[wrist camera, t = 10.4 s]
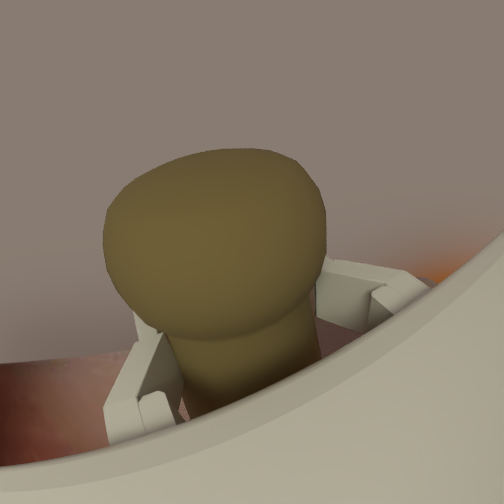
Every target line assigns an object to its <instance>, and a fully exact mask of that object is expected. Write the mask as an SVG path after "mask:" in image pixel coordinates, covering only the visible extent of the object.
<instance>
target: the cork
mask: <svg viewBox="0 0 504 504" xmlns="http://www.w3.org/2000/svg"><path fill="white" fill-rule="evenodd" d="M103 249H104V256H105V262H106V268H107V272H108V274H109V275H110V277H111V280H112V282H113V284H114V286H115V288H116V290H117V291H118V293H119V294H120V296H121V297H122V298H123V299H124V300H125V302H126V303H127V304H128V306H129V307H130V308H131V309H132V310H133V311H134V312H135V313H136V314H137V315H138V316H139V318H140V319H141V320H142V321H143V322H144V323H145V324H146V325H148V326H150V327H152V328H154V329H157V330H159V331H161V332H163V333H165V334H167V335H168V338H169V342H170V345H171V348H172V350H173V353H174V356H175V358H176V361H177V364H178V366H179V369H180V371H181V374H182V377H183V379H184V382H185V383H184V387H183V392H182V398H183V401H184V404H185V406H186V409H187V411H188V414H189V417H190V419H194V418H197V417H199V416H202V415H204V414H207V413H209V412H212V411H214V410H217V409H219V408H222V407H224V406H226V405H229V404H231V403H233V402H236V401H238V400H240V399H242V398H245V397H247V396H249V395H251V394H254V393H256V392H258V391H260V390H262V389H264V388H266V387H268V386H271V385H273V384H275V383H277V382H279V381H281V380H283V379H285V378H287V377H289V376H291V375H293V374H295V373H297V372H299V371H301V370H302V369H304V368H306V367H308V366H310V365H312V364H314V363H316V362H317V361H319V360H321V359H322V358H321V353H320V348H319V343H318V338H317V332H316V327H315V323H314V318H313V313H312V308H311V303H310V298H309V293H310V292H311V290H312V288H313V286H314V285H315V283H316V281H317V279H318V277H319V276H320V273H321V270H322V266H323V263H324V259H325V256H326V210H325V207H324V204H323V200H322V197H321V195H320V191H319V189H318V187H317V186H316V184H315V183H314V182H313V180H312V179H311V178H310V176H309V175H308V174H307V172H306V171H305V170H304V168H302V167H301V165H300V164H299V163H298V162H297V161H295V160H293V159H291V158H289V157H286V156H284V155H281V154H279V153H276V152H273V151H270V150H262V149H219V150H211V151H205V152H200V153H196V154H192V155H188V156H184V157H181V158H178V159H175V160H173V161H170V162H167V163H165V164H163V165H161V166H159V167H156V168H155V169H152V170H150V171H149V172H147V173H145V174H143V175H141V176H139V177H138V178H136V179H134V180H133V181H132V182H131V183H129V184H128V185H127V186H125V187H124V188H123V190H122V191H121V192H120V193H119V194H118V196H117V197H116V198H115V199H114V201H113V202H112V204H111V205H110V206H109V208H108V209H107V214H106V219H105V225H104V230H103Z"/></svg>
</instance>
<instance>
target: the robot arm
mask: <svg viewBox="0 0 504 504" xmlns="http://www.w3.org/2000/svg"><path fill="white" fill-rule="evenodd" d="M309 298H310V303H311V308H312V313H313V317H315V316H317V317H318V318H320V319H323V320H325V321H328V322H331V323H334V324H336V325H339V326H342V327H344V328H347V329H350V330H353V331H355V332H358V333H361V334H364V335H362V336H361V337H359V338H357V339H356V340H354V341H352V342H351V343H349V344H347V345H346V346H344V347H342V348H341V349H339V350H337V351H335V352H334V353H332V354H330V355H328V356H326V357H325V358H323V359H321V360H319V361H317V362H316V363H314V364H312V365H310V366H308V367H306V368H304V369H302V370H301V371H299V372H297V373H295V374H293V375H291V376H289V377H287V378H285V379H283V380H281V381H279V382H277V383H275V384H273V385H271V386H268V387H266V388H264V389H262V390H260V391H258V392H256V393H254V394H251V395H249V396H247V397H245V398H242V399H240V400H238V401H236V402H233V403H231V404H229V405H226V406H224V407H222V408H219V409H217V410H214V411H212V412H209V413H207V414H204V415H202V416H199V417H197V418H194V419H191V420H189V421H186V422H185V420H184V419H183V418H182V416H181V415H180V414H179V412H178V409H179V405H180V400H181V396H182V392H183V387H184V383H185V382H184V379H183V377H182V374H181V371H180V369H179V366H178V364H177V361H176V358H175V356H174V353H173V350H172V348H171V345H170V342H169V338H168V335H167V334H165V333H163V332H161V331H159V330H157V329H154V328H152V327H150V326H148V325H146V324H145V323H144V322H143V321H142V320H141V319H140V318H139V316H138V315H137V314H136V313H135V312H134V311H133V313H134V319H135V324H136V328H137V333H138V338H139V341H138V342H136V343H134V345H133V347H132V349H131V351H130V353H129V355H128V357H127V359H126V361H125V363H124V365H123V367H122V369H121V371H120V373H119V375H118V377H117V379H116V381H115V384H114V386H113V388H112V390H111V392H110V394H109V396H108V398H107V400H106V402H105V405H104V407H103V411H104V417H105V424H106V430H107V435H108V441H109V446H108V447H104V448H100V449H97V450H93V451H88V452H84V453H80V454H75V455H71V456H66V457H61V458H56V459H51V460H45V461H39V462H33V463H27V464H20V465H12V466H3V467H0V504H504V230H503V231H502V232H501V233H500V234H499V235H498V236H496V237H495V238H494V239H493V240H492V241H491V242H490V243H489V244H487V245H486V246H485V247H484V248H483V249H482V250H480V251H479V252H478V253H477V254H476V255H474V256H473V257H472V258H471V259H470V260H468V261H467V262H466V263H465V264H464V265H462V266H461V267H460V268H458V269H457V270H456V271H455V272H454V273H452V274H451V275H450V276H449V277H447V278H446V279H445V280H443V281H442V282H440V283H439V284H438V285H436V286H435V287H434V288H432V289H431V288H430V287H428V286H427V285H426V284H424V283H423V282H421V281H420V280H418V279H417V278H415V277H414V276H412V275H411V274H410V273H408V272H407V271H404V270H398V269H392V268H386V267H380V266H375V265H369V264H363V263H358V262H352V261H346V260H340V259H336V260H334V261H333V260H332V259H331V258H329V257H328V256H327V255H326V256H325V259H324V263H323V266H322V270H321V273H320V276H319V277H318V279H317V281H316V283H315V285H314V286H313V288H312V290H311V292H310V293H309Z"/></svg>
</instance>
